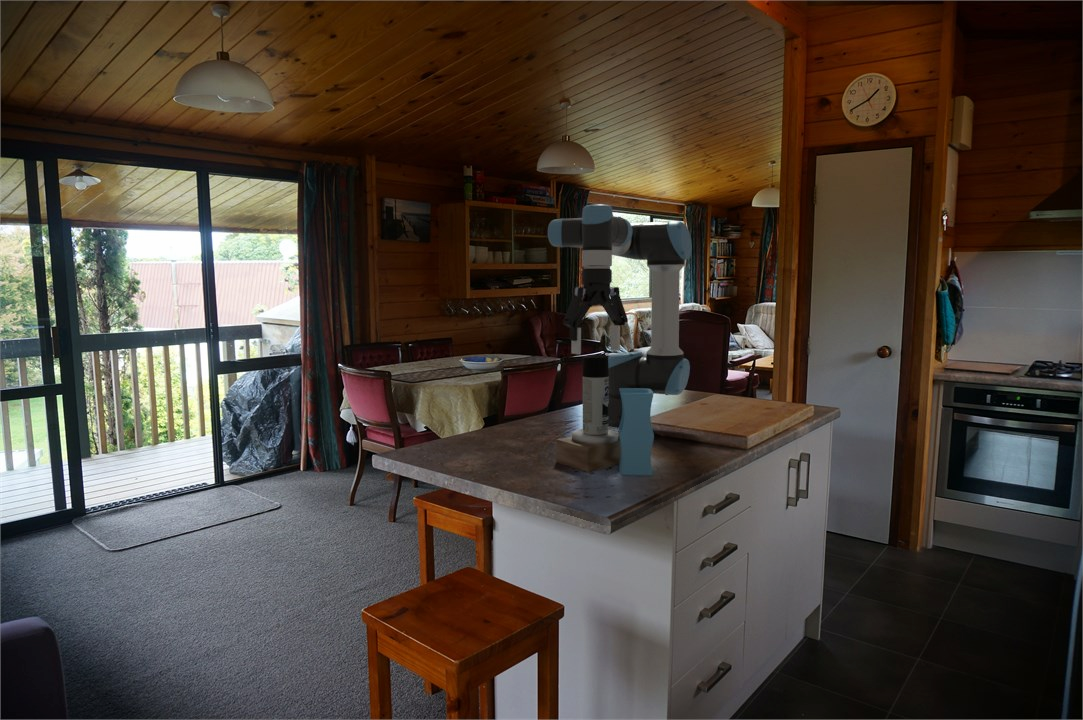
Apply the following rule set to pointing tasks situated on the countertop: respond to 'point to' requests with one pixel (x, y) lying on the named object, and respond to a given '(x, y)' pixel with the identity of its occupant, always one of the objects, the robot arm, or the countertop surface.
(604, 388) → the spray can
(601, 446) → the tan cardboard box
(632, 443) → the vase
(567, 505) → the countertop surface
